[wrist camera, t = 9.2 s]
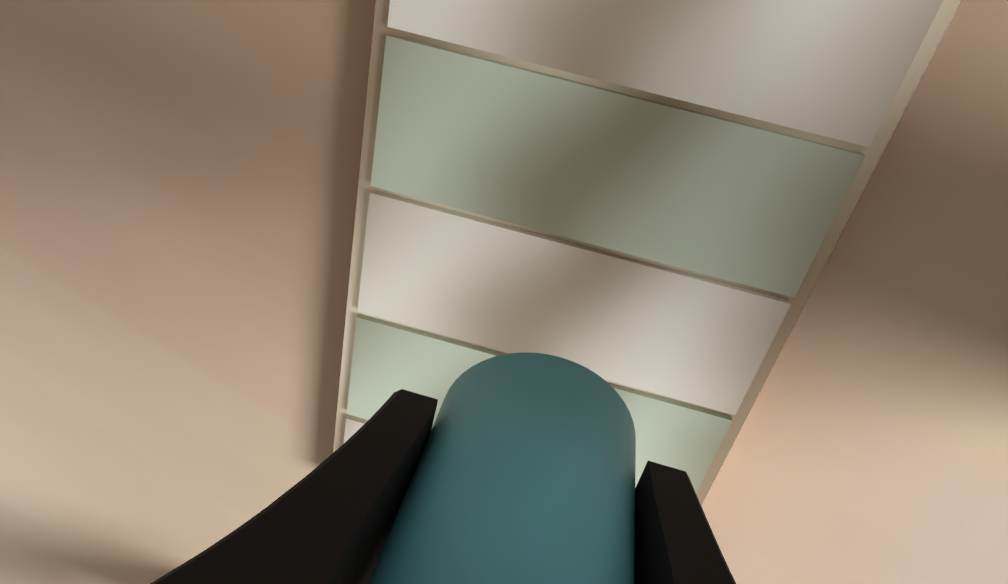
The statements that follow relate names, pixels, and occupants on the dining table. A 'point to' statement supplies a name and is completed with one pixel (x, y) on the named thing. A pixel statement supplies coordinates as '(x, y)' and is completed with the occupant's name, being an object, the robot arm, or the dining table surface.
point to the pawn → (520, 482)
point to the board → (614, 193)
